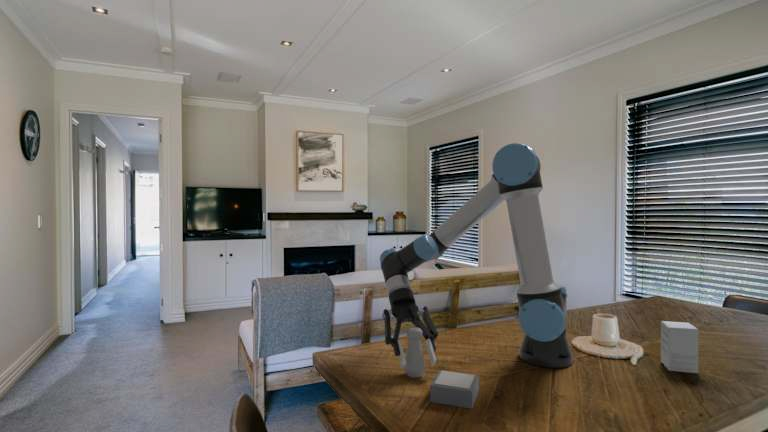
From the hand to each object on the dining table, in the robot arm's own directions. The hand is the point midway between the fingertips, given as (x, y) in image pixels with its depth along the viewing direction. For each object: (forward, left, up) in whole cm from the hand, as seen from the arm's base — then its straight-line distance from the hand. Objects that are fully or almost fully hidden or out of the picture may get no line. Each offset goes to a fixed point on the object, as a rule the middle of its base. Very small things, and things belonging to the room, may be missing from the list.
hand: (419, 364), depth 112 cm
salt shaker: (+2, -3, -4) cm, 5 cm away
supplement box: (-68, -35, -4) cm, 76 cm away
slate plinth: (-11, +6, -4) cm, 13 cm away
